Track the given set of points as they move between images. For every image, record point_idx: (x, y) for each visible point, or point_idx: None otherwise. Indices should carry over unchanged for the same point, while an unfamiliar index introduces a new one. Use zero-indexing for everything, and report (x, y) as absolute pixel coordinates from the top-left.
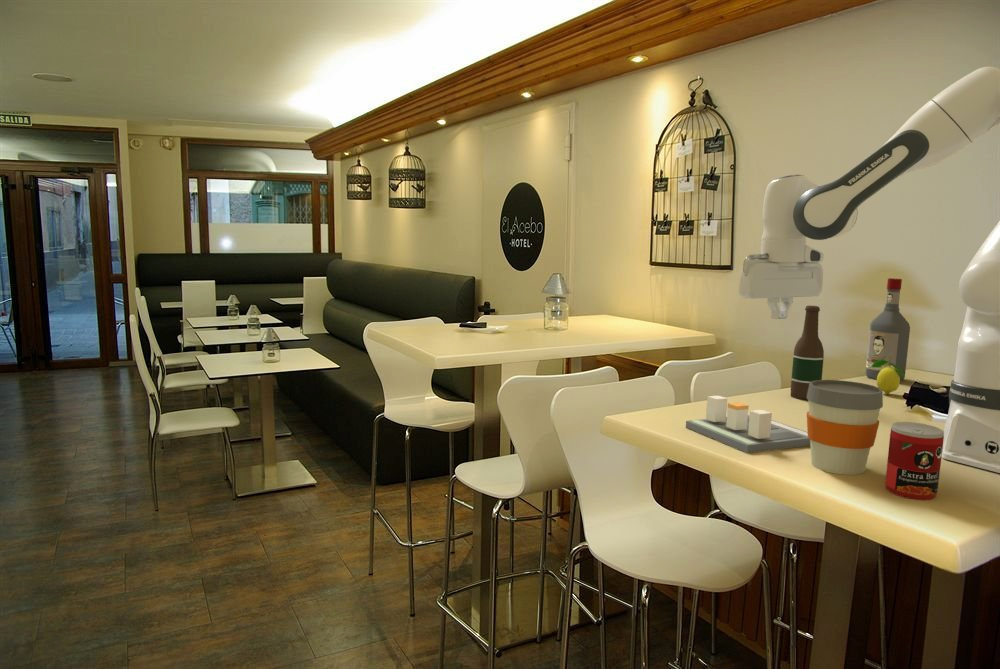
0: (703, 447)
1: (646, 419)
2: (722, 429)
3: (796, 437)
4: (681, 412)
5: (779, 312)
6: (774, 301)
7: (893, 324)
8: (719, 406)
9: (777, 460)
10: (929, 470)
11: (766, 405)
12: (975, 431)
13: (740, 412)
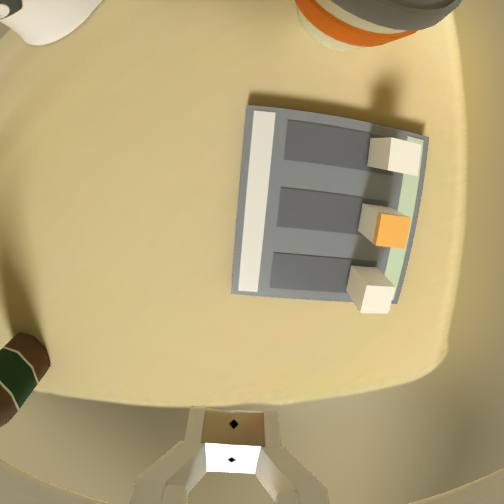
0: (454, 196)
1: (401, 355)
2: None
3: (305, 122)
4: (315, 373)
5: (264, 437)
6: (328, 499)
7: None
8: (380, 279)
9: (406, 85)
10: None
11: (123, 351)
12: None
13: (395, 213)
